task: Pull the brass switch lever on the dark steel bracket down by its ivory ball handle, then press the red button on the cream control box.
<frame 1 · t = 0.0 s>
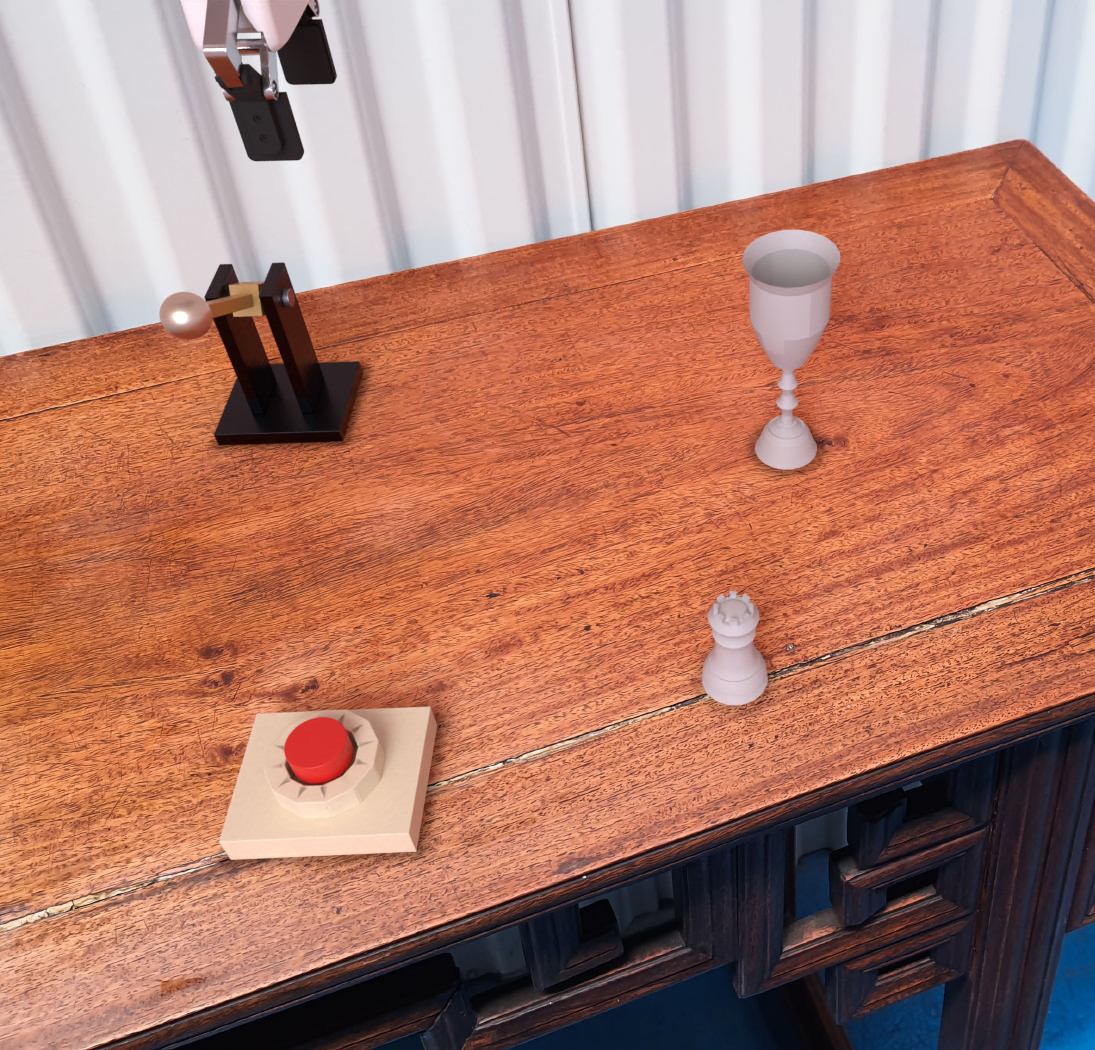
hand: (296, 118, 73), 29 cm above the table, tool pointing down, fingers open, 9 cm apart
rook chess piece: (734, 684, 79), on the table
switch lever: (220, 306, 84), point 14 cm above the table, hinge at 30.0°
control box: (338, 789, 73), on the table
switch bracket: (293, 407, 98), on the table
red button: (319, 750, 69), point 4 cm above the table, slide at 0.1 cm
chalice: (785, 449, 95), on the table
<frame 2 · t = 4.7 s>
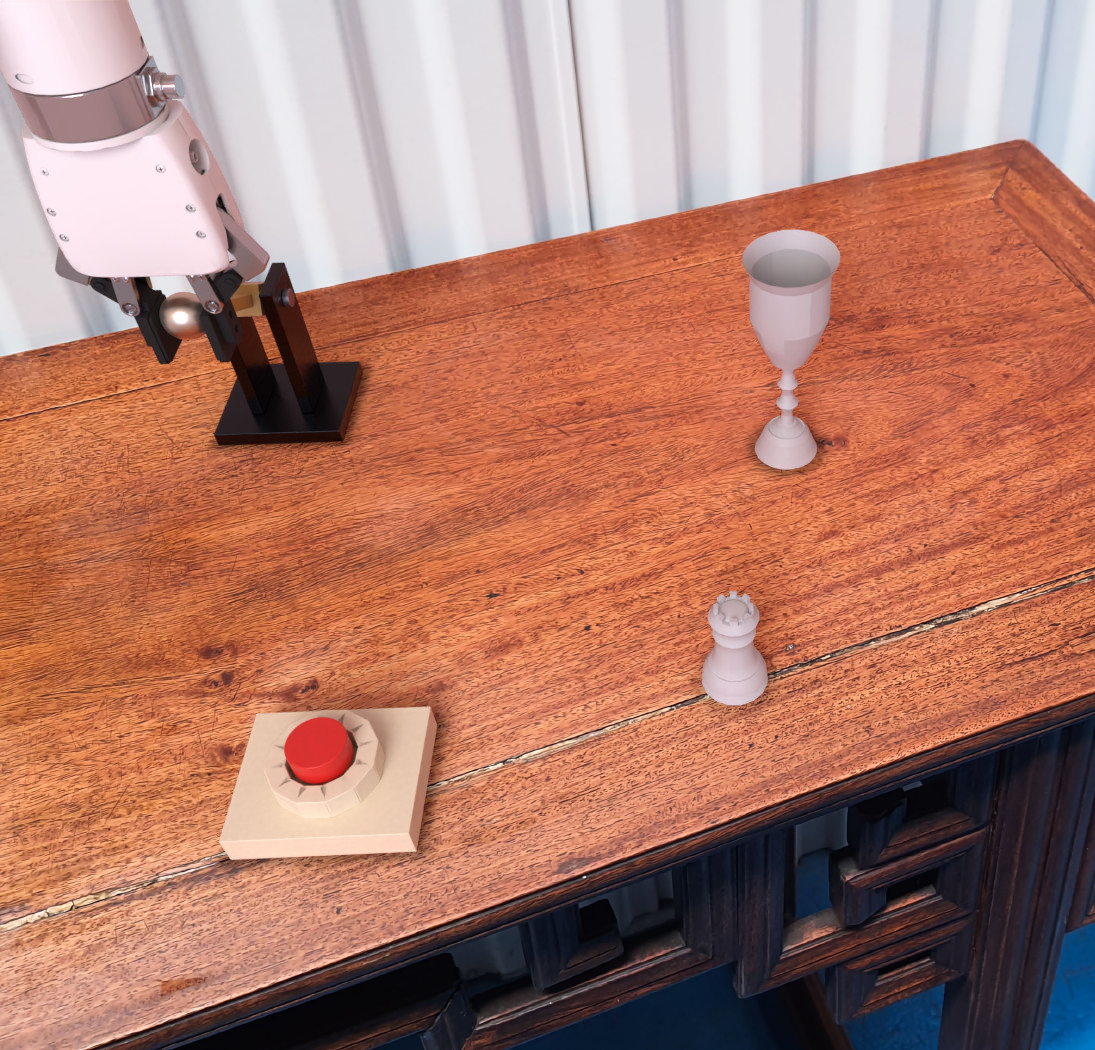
hand: (200, 348, 80), 14 cm above the table, tool pointing down, fingers closed on switch lever, 3 cm apart
switch lever: (220, 306, 84), point 14 cm above the table, hinge at 30.0°, touching gripper
everything else where it was.
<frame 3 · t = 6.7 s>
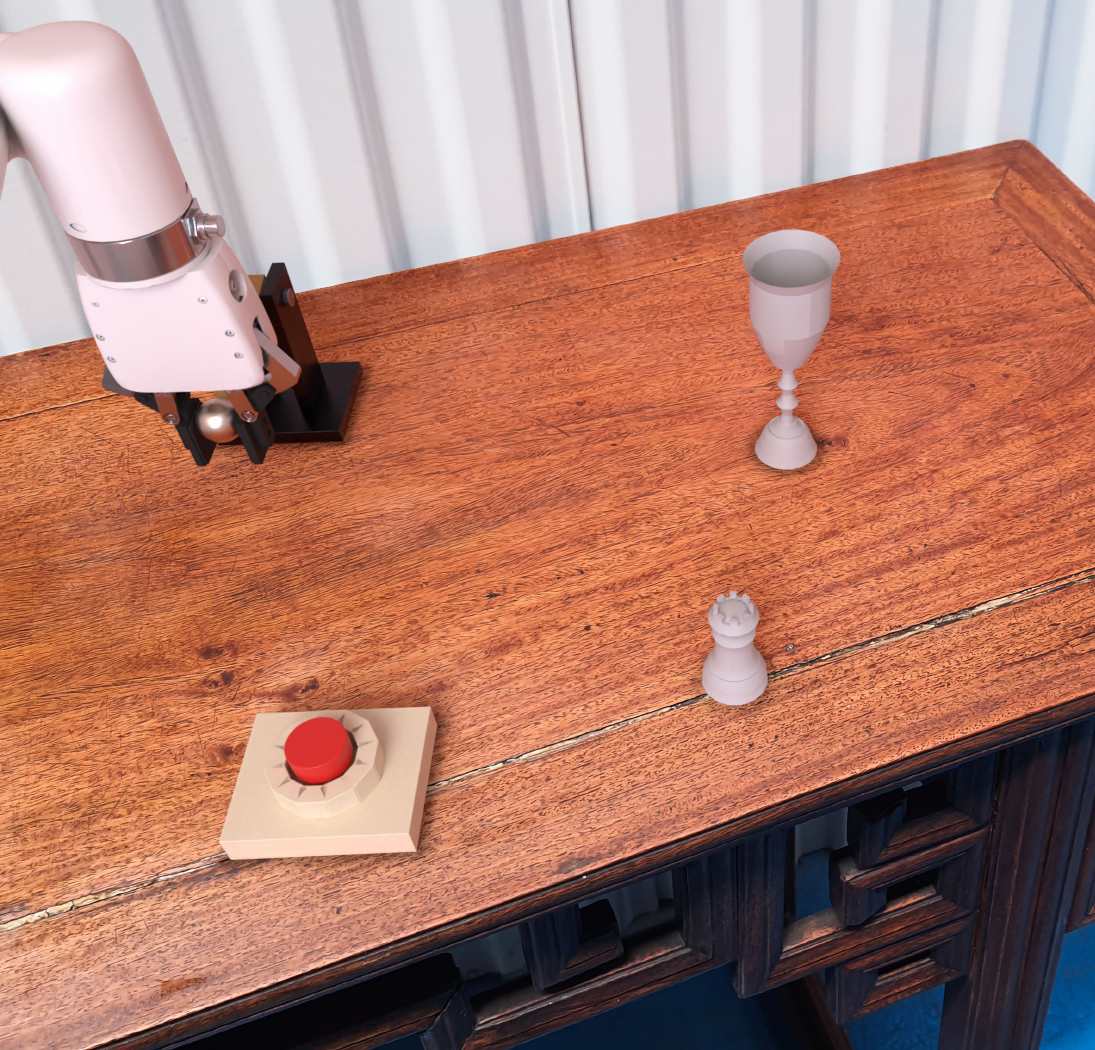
hand: (235, 450, 86), 6 cm above the table, tool pointing down, fingers closed on switch lever, 3 cm apart
switch lever: (236, 358, 86), point 10 cm above the table, hinge at -9.9°, touching gripper
everything else where it was.
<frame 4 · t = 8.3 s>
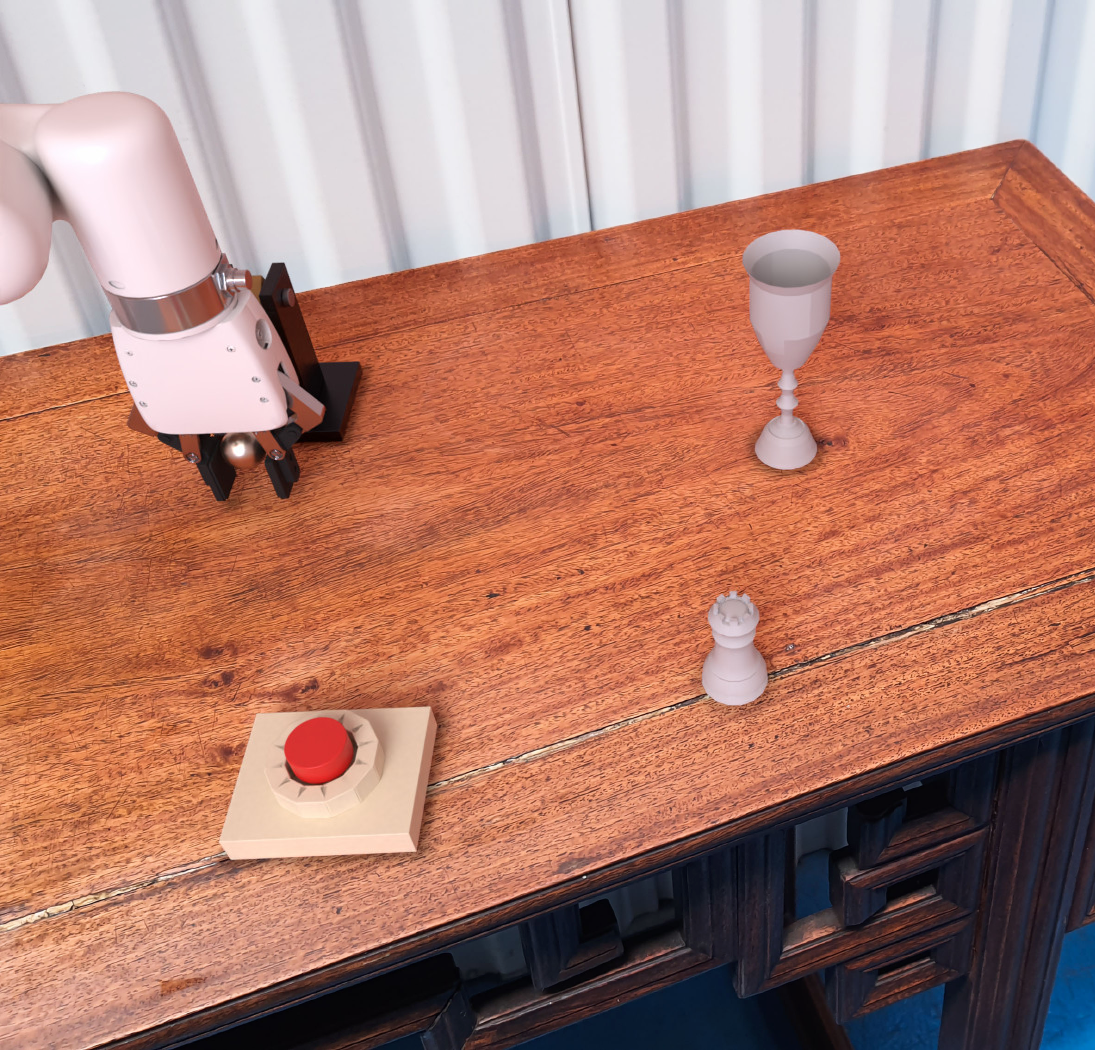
hand: (257, 485, 90), 1 cm above the table, tool pointing down, fingers open, 4 cm apart
switch lever: (248, 373, 89), point 8 cm above the table, hinge at -31.1°
everything else where it was.
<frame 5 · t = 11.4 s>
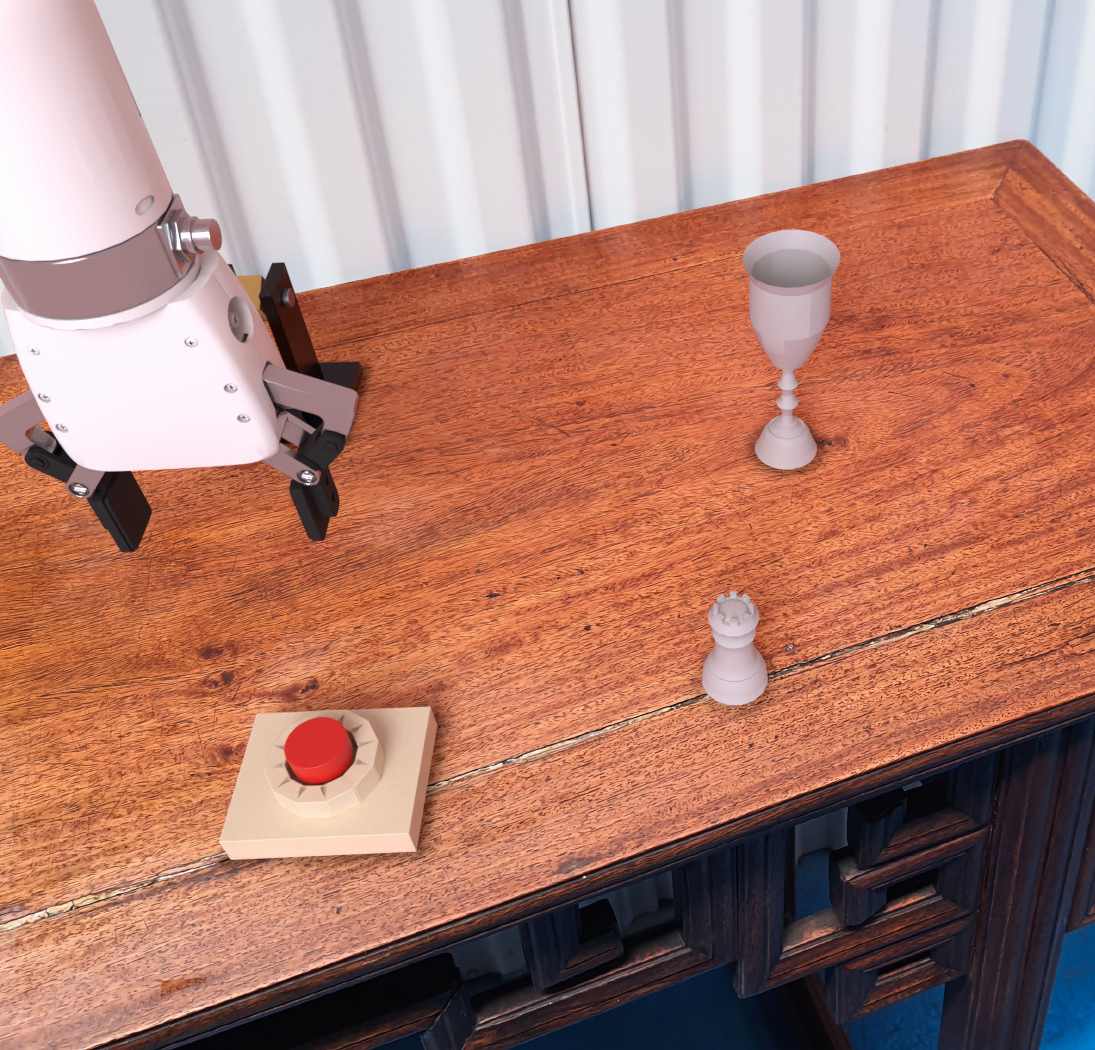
hand: (231, 527, 62), 19 cm above the table, tool pointing down, fingers open, 9 cm apart
nothing on the table moved.
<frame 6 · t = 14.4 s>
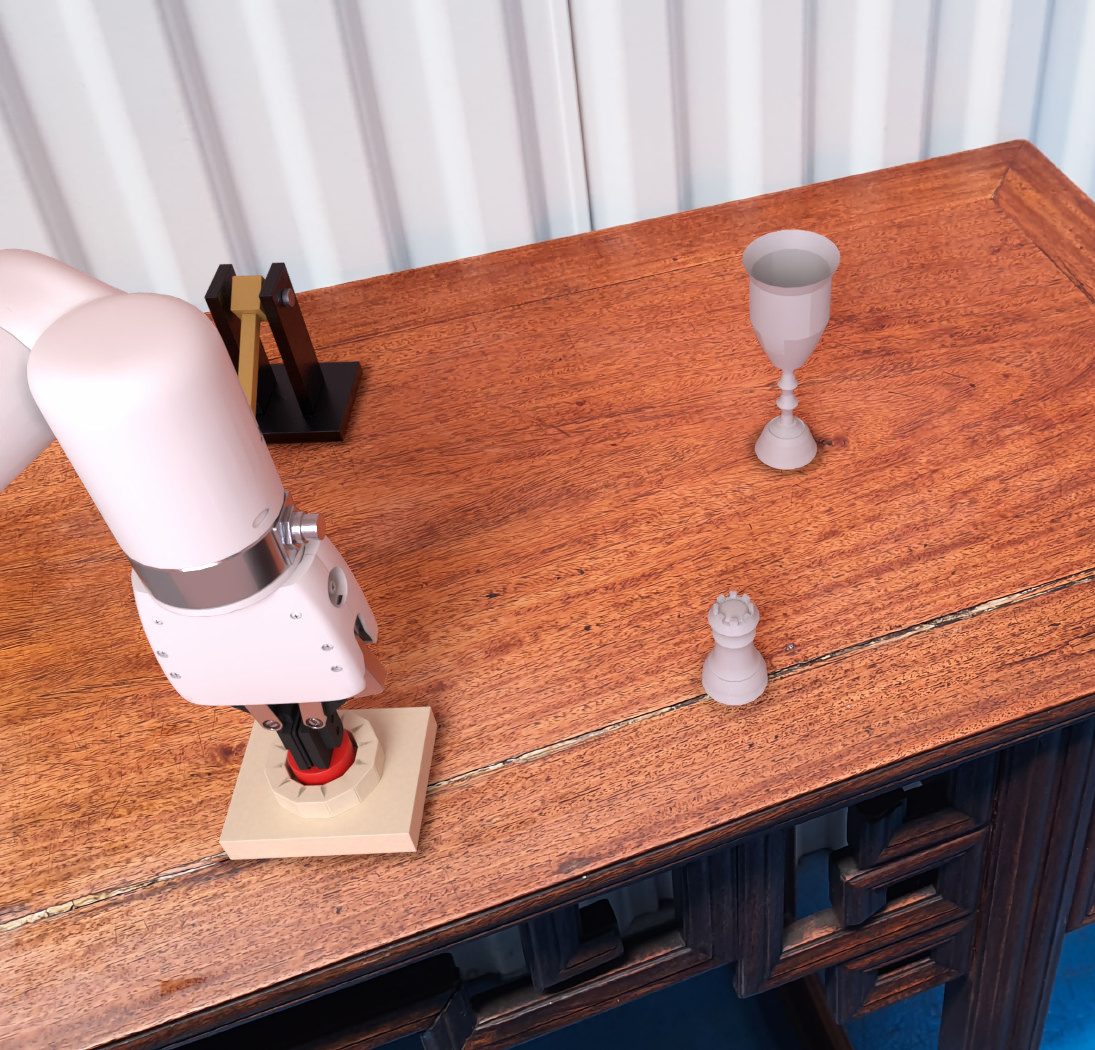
hand: (320, 748, 69), 5 cm above the table, tool pointing down, fingers closed
red button: (322, 756, 70), point 4 cm above the table, slide at -0.5 cm, touching gripper
everything else where it was.
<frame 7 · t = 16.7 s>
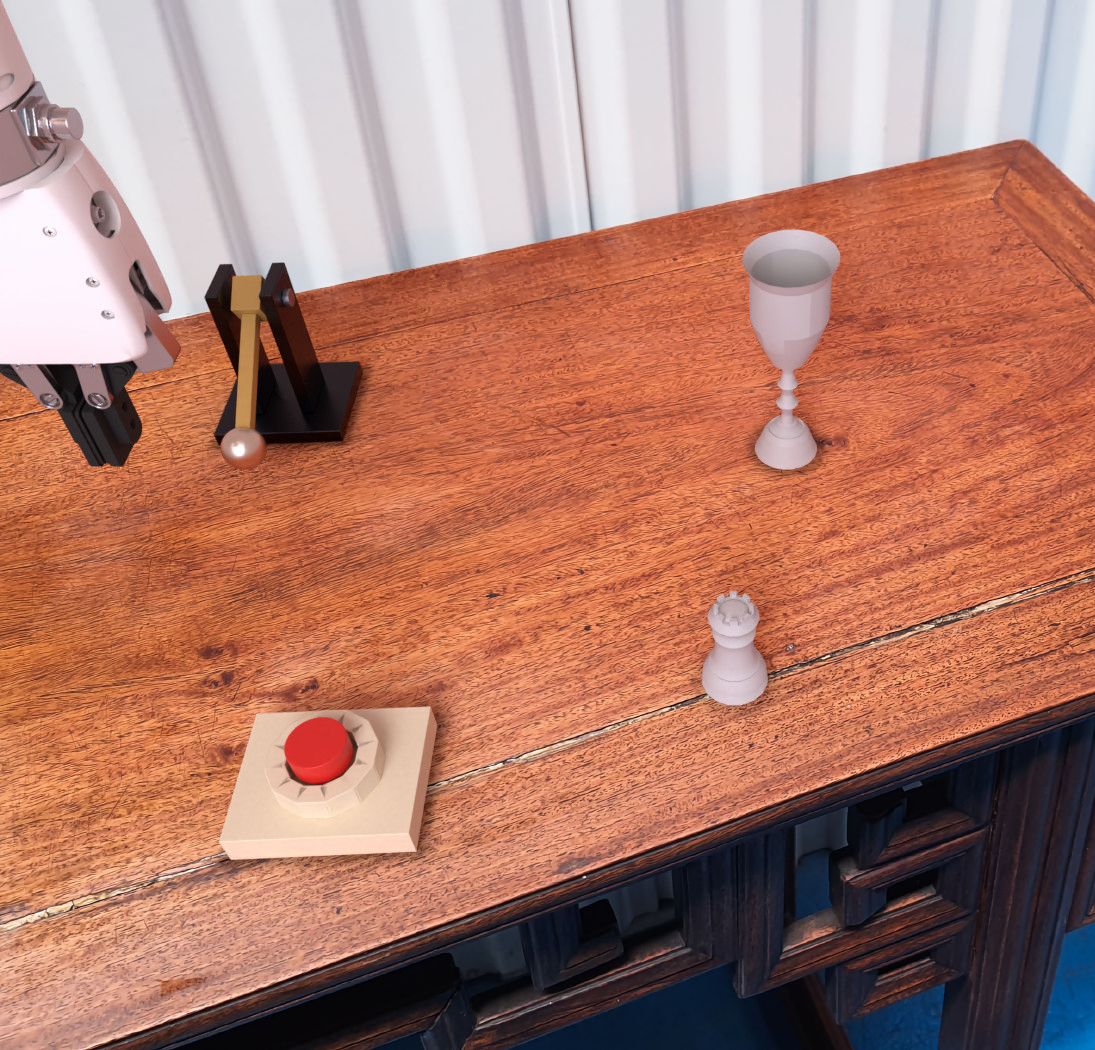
hand: (116, 448, 63), 21 cm above the table, tool pointing down, fingers closed
red button: (319, 750, 69), point 4 cm above the table, slide at 0.1 cm
everything else where it was.
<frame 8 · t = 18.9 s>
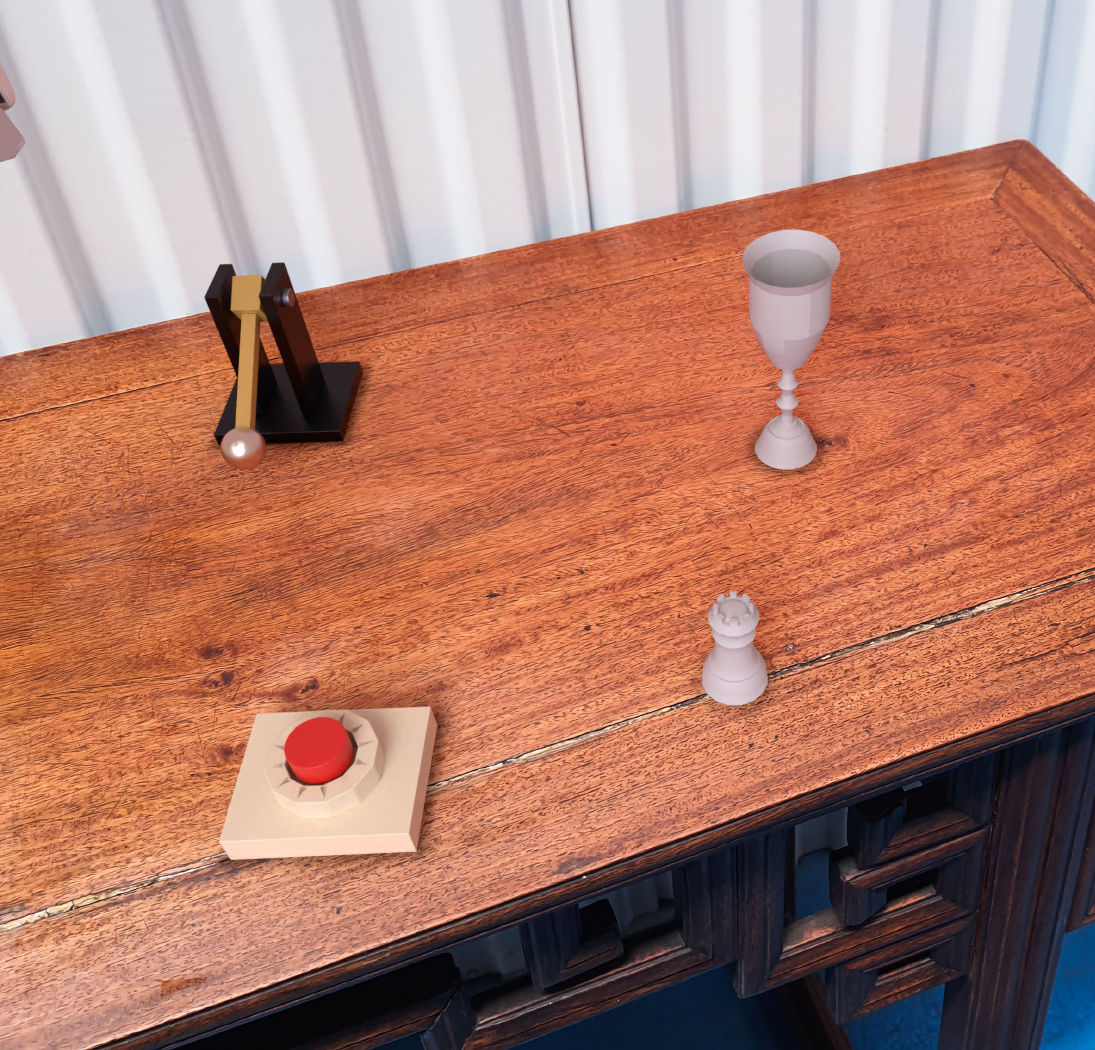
nothing on the table moved.
at the end: switch lever at -31° (first picture: +30°); red button pushed in 1.1 cm at the most during the clip, back to where it started at the end; red button slide at 0.1 cm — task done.
